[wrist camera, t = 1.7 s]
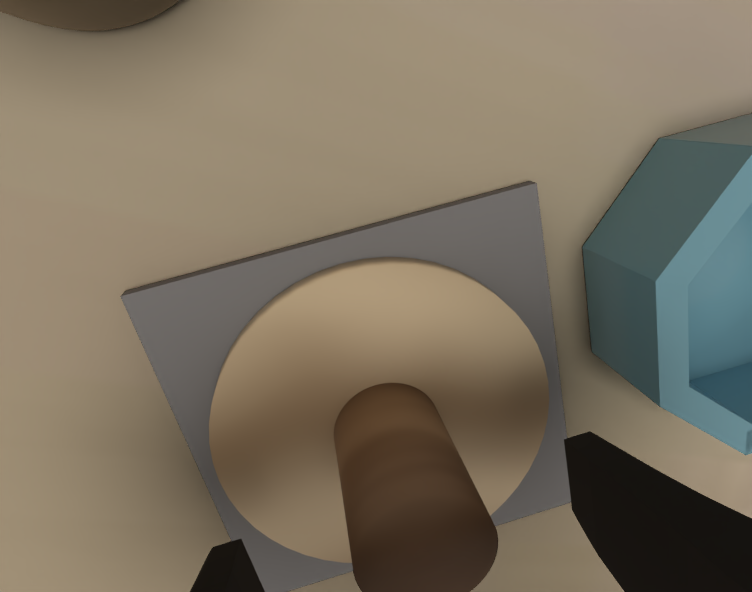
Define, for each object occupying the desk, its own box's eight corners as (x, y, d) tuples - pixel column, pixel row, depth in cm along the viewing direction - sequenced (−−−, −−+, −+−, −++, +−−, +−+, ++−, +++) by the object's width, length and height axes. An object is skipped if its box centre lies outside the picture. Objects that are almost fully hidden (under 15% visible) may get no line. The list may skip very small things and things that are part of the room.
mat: (568, 493, 18) (574, 501, 18) (259, 590, 17) (258, 600, 17) (530, 180, 14) (536, 183, 14) (125, 291, 13) (120, 296, 13)
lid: (553, 490, 17) (656, 637, 13) (274, 579, 17) (268, 771, 12) (513, 214, 14) (635, 271, 9) (157, 315, 13) (84, 434, 8)
